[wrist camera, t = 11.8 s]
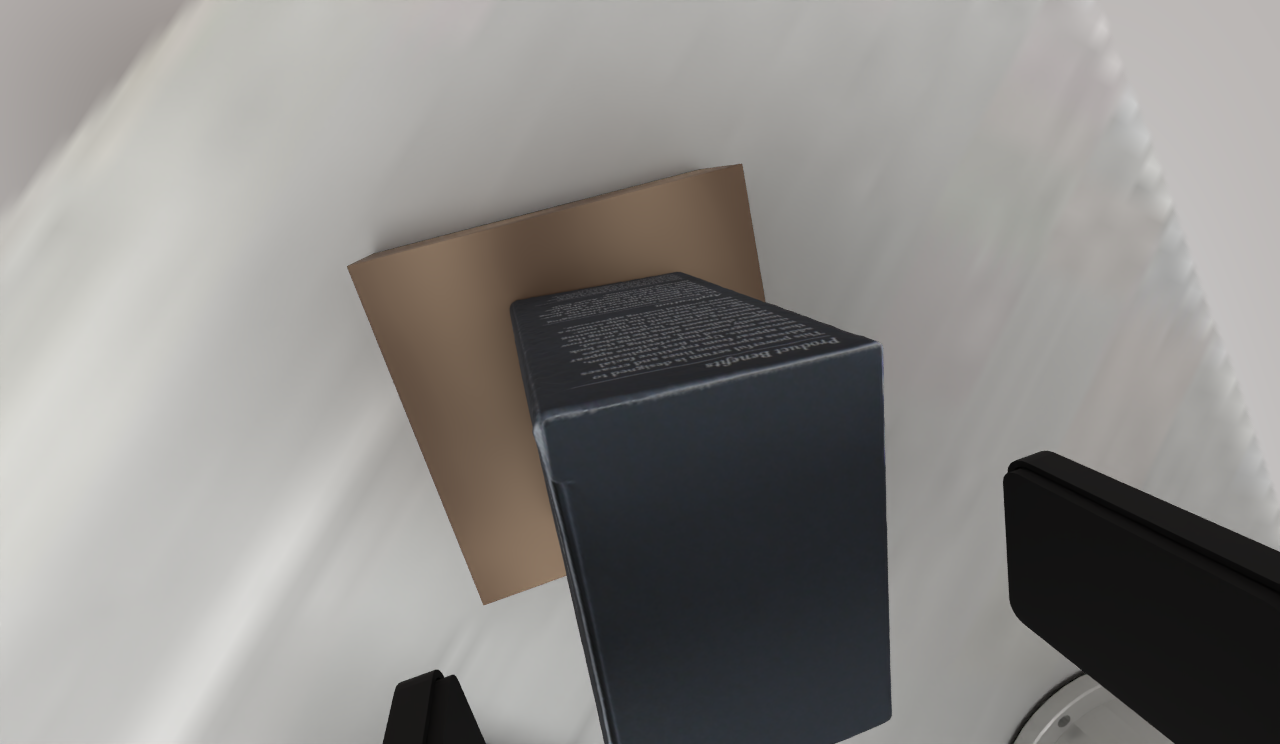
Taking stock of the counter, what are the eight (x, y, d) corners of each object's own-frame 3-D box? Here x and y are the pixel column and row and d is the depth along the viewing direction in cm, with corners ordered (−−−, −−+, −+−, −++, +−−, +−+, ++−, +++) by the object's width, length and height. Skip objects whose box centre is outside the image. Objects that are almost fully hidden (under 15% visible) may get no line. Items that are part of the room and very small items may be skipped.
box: (709, 482, 21) (900, 729, 11) (553, 522, 20) (615, 833, 10) (683, 264, 19) (899, 338, 9) (504, 297, 18) (524, 421, 8)
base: (699, 169, 22) (742, 163, 18) (753, 450, 26) (797, 492, 22) (373, 253, 20) (346, 266, 16) (484, 542, 24) (483, 605, 20)
